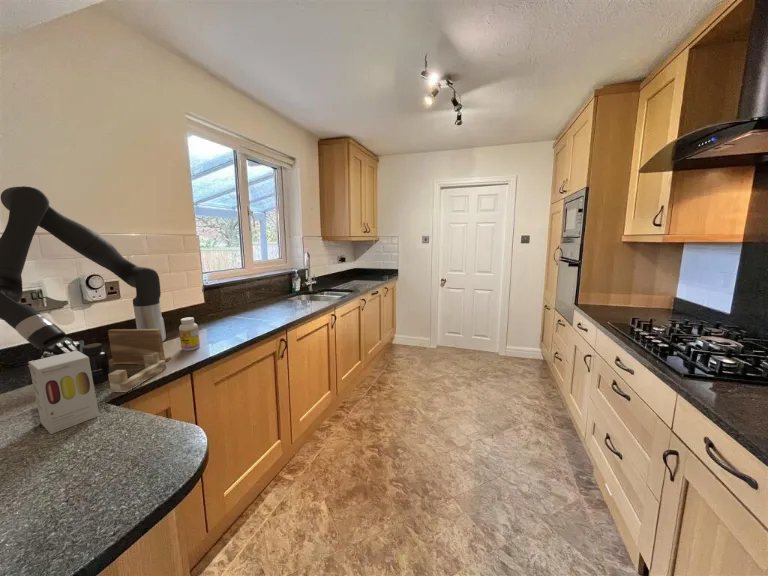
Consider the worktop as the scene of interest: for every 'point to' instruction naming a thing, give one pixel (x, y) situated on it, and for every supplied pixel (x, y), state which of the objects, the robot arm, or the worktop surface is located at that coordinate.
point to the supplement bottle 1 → (97, 362)
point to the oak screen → (135, 345)
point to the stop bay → (124, 384)
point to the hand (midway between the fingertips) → (85, 367)
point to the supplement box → (64, 390)
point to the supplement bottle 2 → (189, 334)
